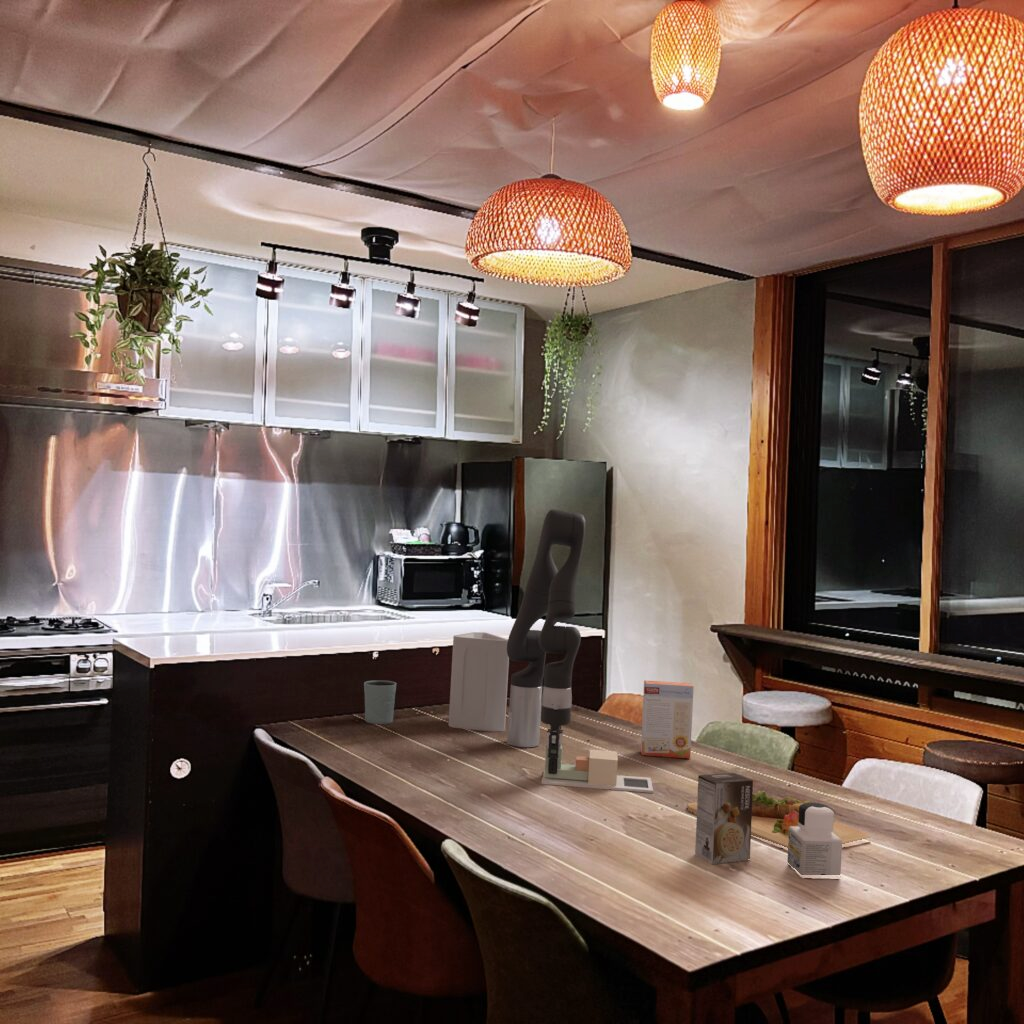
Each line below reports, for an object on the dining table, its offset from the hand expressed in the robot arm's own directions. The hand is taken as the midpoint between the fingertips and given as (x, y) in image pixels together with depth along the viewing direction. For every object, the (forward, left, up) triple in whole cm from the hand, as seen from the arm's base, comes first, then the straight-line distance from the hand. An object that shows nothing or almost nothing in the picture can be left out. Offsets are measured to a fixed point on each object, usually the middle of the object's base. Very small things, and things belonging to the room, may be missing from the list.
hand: (553, 770), depth 244 cm
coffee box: (+36, -49, -2) cm, 61 cm away
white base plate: (+11, 0, -2) cm, 11 cm away
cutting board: (+51, -23, -3) cm, 57 cm away
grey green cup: (-58, +51, -2) cm, 77 cm away
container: (+53, -53, -2) cm, 75 cm away
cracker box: (+30, +35, -2) cm, 47 cm away
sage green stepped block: (+5, 0, -1) cm, 5 cm away
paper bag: (-28, +55, -2) cm, 62 cm away
